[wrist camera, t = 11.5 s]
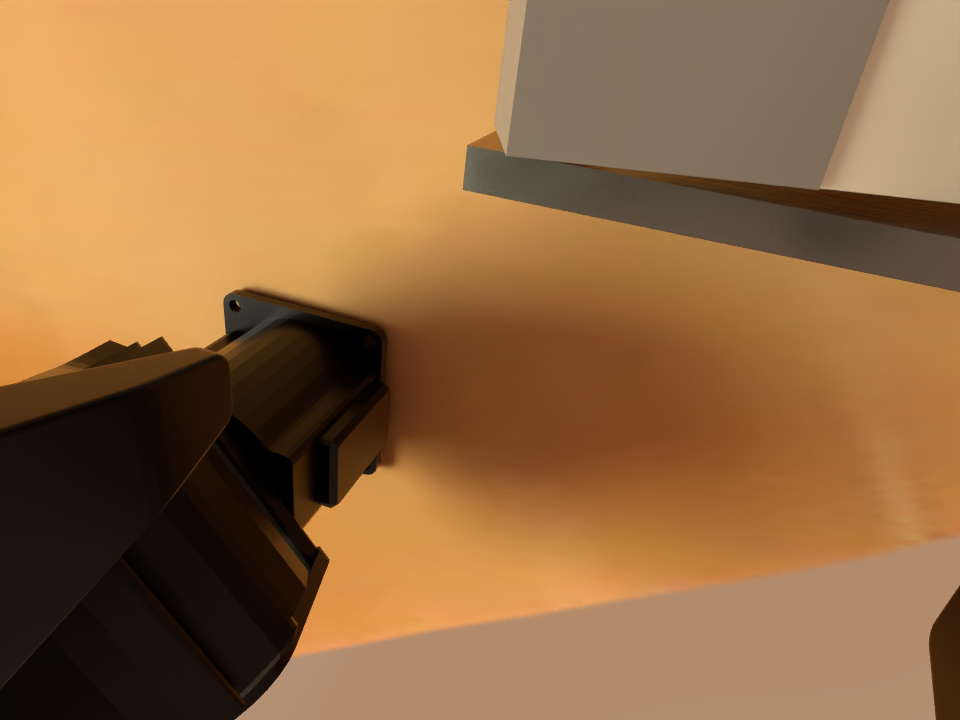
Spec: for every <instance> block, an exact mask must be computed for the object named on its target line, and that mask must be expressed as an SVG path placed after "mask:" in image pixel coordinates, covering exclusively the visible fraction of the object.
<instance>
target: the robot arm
mask: <svg viewBox="0 0 960 720" xmlns="http://www.w3.org/2000/svg"><path fill="white" fill-rule="evenodd" d="M236 301H238V303H239V304H240V306H241V308H240V307H239V306H238V305H237V304H236ZM223 304H224V316H225V328H226V335H224V336H223V337H221V338H220V339H218V340H217V341H215V342H214V343H212V344H210V345H209V346H207V347H206V348H204V349H203V348H189V349H184V350H179V351H174V352H173V350H172V349H171V347H170V346H169V345H168V343H167V342H166V341H165V339H164V338H163V337H160V338H158V339H156V340H154V341H152V342H151V343H149V344H147V345H145V346H143V347H141V345H140V344H139V343H138V342H136V343H134V344H132V345H130V346H128V347H126V346H123V345H121V344H118V343H116V342H113V341H111V340H110V341H108V342H106V343H104V344H102V345H100V346H98V347H96V348H95V349H93V350H91V351H89V352H87V353H85V354H83V355H81V356H79V357H77V358H75V359H74V360H72V361H70V362H67V363H65V364H63V365H61V366H59V367H56V368H54V369H51V370H49V371H46V372H43V373H41V374H38V375H36V376H33V377H31V378H28V379H25V380H23V381H20V382H18V383H15V384H10V385H5V386H0V720H234V719H236V718H237V717H238V716H239V715H241V714H242V713H243V712H244V711H246V710H247V709H248V708H249V707H250V706H251V705H253V704H254V703H255V702H256V701H257V700H258V699H259V698H260V697H261V696H262V695H263V694H264V693H265V692H266V691H267V690H268V688H269V687H270V686H271V685H272V683H273V682H274V681H275V680H276V679H277V678H278V676H279V675H280V674H281V672H282V671H283V669H284V668H285V666H286V665H287V663H288V662H289V660H290V658H291V656H292V654H293V652H294V650H295V648H296V645H297V643H298V640H299V638H300V635H301V633H302V630H303V628H304V625H305V622H306V620H307V617H308V615H309V612H310V610H311V607H312V605H313V602H314V599H315V597H316V594H317V592H318V589H319V587H320V584H321V581H322V579H323V576H324V574H325V571H326V569H327V566H328V564H329V560H330V559H329V558H328V557H327V555H326V554H325V553H324V551H323V550H322V549H321V547H316V546H315V545H314V543H313V542H312V541H311V539H310V538H309V537H308V535H307V534H306V533H305V531H304V530H303V528H304V527H305V526H306V524H307V523H308V522H309V521H310V519H311V518H312V517H313V516H314V515H315V513H316V512H317V511H318V510H319V508H320V507H321V506H322V505H323V506H326V507H329V508H332V507H334V506H336V505H338V504H339V503H340V502H341V500H342V499H343V498H344V496H345V495H346V494H347V493H348V491H349V490H350V489H351V488H352V486H353V485H354V484H355V482H356V481H357V480H358V479H359V477H360V476H361V475H362V474H367V475H370V474H373V473H374V472H375V471H376V470H377V468H378V467H379V466H380V462H381V449H382V448H383V447H384V445H385V444H386V442H387V432H388V415H389V398H390V389H389V387H388V385H387V384H386V383H385V372H386V354H387V336H386V334H385V332H384V331H383V330H382V329H381V328H380V327H378V326H376V325H373V324H369V323H365V322H361V321H357V320H353V319H350V318H346V317H342V316H338V315H334V314H330V313H327V312H323V311H319V310H315V309H311V308H307V307H304V306H300V305H296V304H292V303H288V302H284V301H280V300H277V299H273V298H269V297H265V296H261V295H257V294H254V293H250V292H246V291H242V290H235V291H233V292H231V293H230V294H228V295H226V296H225V298H224V303H223ZM368 336H371V337H373V338H374V339H375V341H376V344H374V343H372V342H370V340H369V339H368ZM929 650H930V651H929V652H930V662H931V671H932V683H933V693H934V703H935V714H936V720H960V586H959V587H958V589H957V590H956V592H955V593H954V594H953V596H952V598H951V599H950V600H949V602H948V603H947V605H946V606H945V608H944V609H943V610H942V612H941V613H940V615H939V616H938V618H937V619H936V621H935V623H934V624H933V626H932V629H931V632H930V637H929Z"/></svg>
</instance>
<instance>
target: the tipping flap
mask: <svg viewBox="0 0 960 720" xmlns="http://www.w3.org/2000/svg"><path fill="white" fill-rule="evenodd" d="M494 125H495V128H496V131H497V133H498V136H499V139H500V141H501V144H502V147H503V149H504V152H505V155H506V156H511V157H520V158H530V159H539V160H548V161H557V162H566V163H576V164H585V165H594V166H603V167H612V168H621V169H631V170H640V171H649V172H658V173H667V174H677V175H686V176H695V177H704V178H713V179H722V180H732V181H741V182H750V183H759V184H768V185H778V186H787V187H796V188H805V189H814V190H819V188H821V189H830V190H839V191H848V192H858V193H867V194H876V195H885V196H894V197H903V198H912V199H922V200H931V201H940V202H949V203H958V204H960V0H509V8H508V16H507V24H506V32H505V41H504V49H503V57H502V65H501V73H500V81H499V90H498V98H497V106H496V114H495V122H494Z"/></svg>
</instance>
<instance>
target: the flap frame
mask: <svg viewBox="0 0 960 720" xmlns="http://www.w3.org/2000/svg"><path fill="white" fill-rule="evenodd" d="M463 190H466V191H471V192H476V193H481V194H486V195H491V196H496V197H500V198H505V199H510V200H515V201H520V202H525V203H530V204H534V205H539V206H544V207H549V208H554V209H559V210H564V211H568V212H573V213H578V214H583V215H588V216H593V217H598V218H602V219H607V220H612V221H617V222H622V223H627V224H632V225H636V226H641V227H646V228H651V229H656V230H661V231H666V232H670V233H675V234H680V235H685V236H690V237H695V238H700V239H704V240H709V241H714V242H719V243H724V244H729V245H734V246H738V247H743V248H748V249H753V250H758V251H763V252H768V253H772V254H777V255H782V256H787V257H792V258H797V259H802V260H806V261H811V262H816V263H821V264H826V265H831V266H836V267H840V268H845V269H850V270H855V271H860V272H865V273H870V274H874V275H879V276H884V277H889V278H894V279H899V280H904V281H908V282H913V283H918V284H923V285H928V286H933V287H938V288H942V289H947V290H952V291H957V292H960V204H958V203H949V202H940V201H931V200H922V199H912V198H903V197H894V196H885V195H876V194H867V193H858V192H848V191H839V190H830V189H821V188H819V190H814V189H805V188H796V187H787V186H778V185H768V184H759V183H750V182H741V181H732V180H722V179H713V178H704V177H695V176H686V175H677V174H667V173H658V172H649V171H640V170H631V169H621V168H612V167H603V166H594V165H585V164H576V163H566V162H557V161H548V160H539V159H530V158H520V157H511V156H506V155H505V152H504V149H503V147H502V144H501V141H500V139H499V136H498V133H497V131H495V132H493V133H491V134H489V135H487V136H485V137H483V138H481V139H479V140H477V141H475V142H473V143H471V144H469V145H467V154H466V164H465V173H464V183H463Z"/></svg>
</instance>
